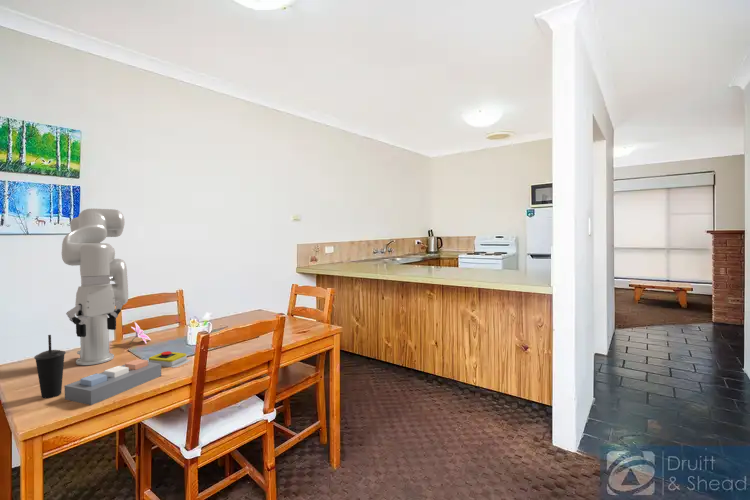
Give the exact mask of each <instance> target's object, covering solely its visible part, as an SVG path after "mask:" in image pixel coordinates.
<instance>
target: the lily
mask: <svg viewBox="0 0 750 500" xmlns="http://www.w3.org/2000/svg"><path fill="white" fill-rule="evenodd" d="M134 325H135V327H133V326H130V327H131V329H132V330H134V331H135V336H134V338H133V339H132V340H131V341H130V342H129V345H131V344H132V343H133V341H134V340H135V338H140V339H142V340H143V342H144V343H145V344H146V345H147V340H149V341H152V339H151V338H150V337H149V336H148V335H147V334H146V333H145V331H144V330H143V329H141V327H140V326H139V325H138V323H137V322H136V321H134Z"/></svg>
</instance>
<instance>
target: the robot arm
mask: <svg viewBox="0 0 750 500" xmlns="http://www.w3.org/2000/svg"><path fill="white" fill-rule="evenodd" d="M69 226H70V232H69V233H67V234H66V235H65V236H64V238H63V239H62V243H61V259H62V261H63V263H64V264H65V265H66V266H67V265H68V266H72V267H73V266H76V267H77V266H79V273H80V283H81V285H80V286H78V287H77V291H76V295H75V305H74V307H73V308H71V309H70V310H68V311H67V312H66V313H65V314H66V316H67V317H68V319H69V321H71V323H72V324H74V325H75V333H76V336H77V337H78V338H79V339H80V342H79V343H80V349H79V350H78V351H76V354H77V355H79V358H77V359H76V360H75V364H76V365H78V366H94V365H98V364H102V363H106V362H109V361H111V360H113V359H114V358H115V355H114V353H111V352H110V330H111V331H115V330H116V329H117V318H118V317H119V314H120V313H121V312H122V308H123V307H124V306H123V305H125V304H126V305H127V303H128V301H129V283H128V282H129V281H128V269H127V264H126V262H125V261H124V260H123V259H121V258H115V257H116V251H115V248H114V247H113V246H112V245H111V244H110V243H106V242H104V241H105V240H106V238H118V237H120V236H121V235H122V234H123V231H124V227H125V217H124V214H123V213H122V211H120V210H118V209H115V208H114V209H113V208H112V209H111V208H110V209H109V208H86V209H84V210H82V211H80V213H79V214H78V216H77V217H73V218H72V219H71V220H70V223H69ZM111 282H114V283H111Z"/></svg>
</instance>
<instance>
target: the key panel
mask: <svg viewBox="0 0 750 500" xmlns="http://www.w3.org/2000/svg"><path fill="white" fill-rule="evenodd" d="M121 366H123V367H125V364H122V365H121ZM98 374H103V375H104V371H103V372H99V373H98ZM161 376H162V366H161V364H158V363H152V362H149V361H148V366H145V367H142V368H140V369H137V370H131V369H129V373H126V374H124V375H121V376H118V377H116V378H112V377H107V381H105V382H102V383H100V384H97V385H94V386H92V387H90V386H85V385H81V384H80V380H77V381H74V382H71V383H69V384H65V385H64V387H63V388H64V400H67V401H70V402H75V403H79V404H85V405H88V404H89V406H93V405H94V404H95V405H96V404H97V403H100V402H102V401H105V400H107V399H109V398H112V397H114V396H117V395H119V394H121V393H124V392H126V391H128V390H131V389H134V388H135V387H138V386H141V385H143V384H145V383H147V382H150V381H152V380H155V379H157V378H159V377H161Z"/></svg>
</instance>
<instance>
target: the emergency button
mask: <svg viewBox="0 0 750 500" xmlns="http://www.w3.org/2000/svg"><path fill="white" fill-rule="evenodd" d="M187 357H188V356H187V353H185V352H176V351H175V352H174V351H170V350H169V351H168V350H166V351H162V352H160V353H157V354H154V355H152V356H150V357H148V362H152V363H158V364H161V367H165V368H172V369H173V368H178V367H180V366H182V365H184V364H186V363H189V362H191V361H192V359H190V358H189V359H188V358H187Z"/></svg>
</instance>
